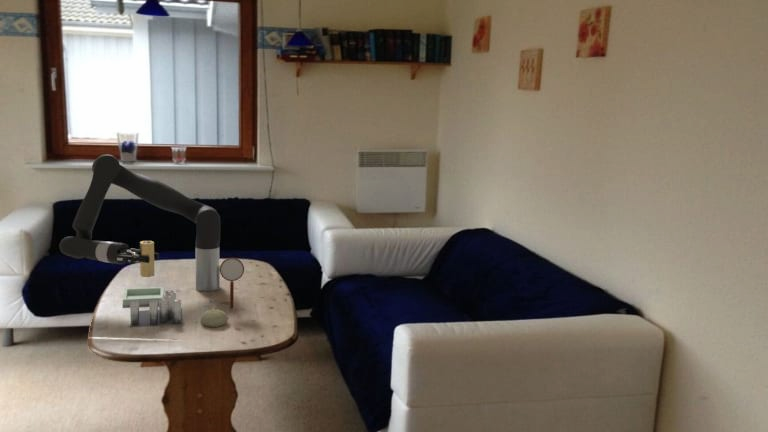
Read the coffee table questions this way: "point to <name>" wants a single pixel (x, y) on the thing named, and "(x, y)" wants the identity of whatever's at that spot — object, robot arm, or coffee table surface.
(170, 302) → the spacer posts
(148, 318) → the mat
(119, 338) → the coffee table surface
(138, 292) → the parts tray
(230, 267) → the magnifying glass
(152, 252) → the gold hexagonal pillar
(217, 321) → the sea urchin shell
